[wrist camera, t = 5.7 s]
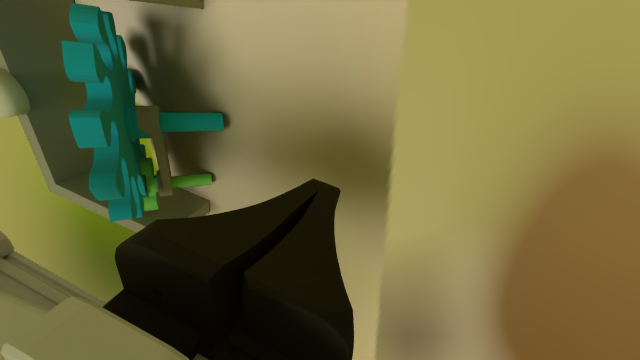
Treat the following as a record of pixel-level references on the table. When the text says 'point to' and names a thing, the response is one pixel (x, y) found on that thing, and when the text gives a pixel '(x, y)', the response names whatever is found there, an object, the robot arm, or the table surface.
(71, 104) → the housing
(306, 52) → the table surface
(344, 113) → the table surface
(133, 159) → the gear
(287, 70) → the table surface
